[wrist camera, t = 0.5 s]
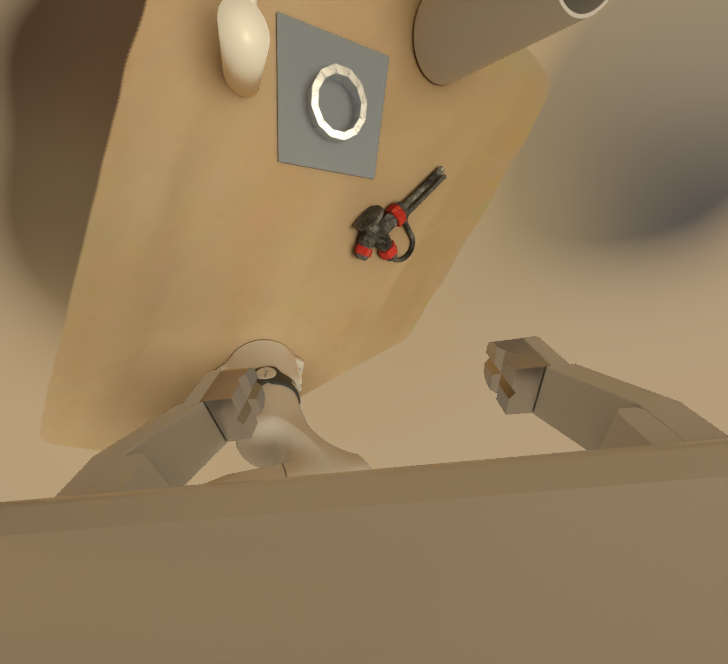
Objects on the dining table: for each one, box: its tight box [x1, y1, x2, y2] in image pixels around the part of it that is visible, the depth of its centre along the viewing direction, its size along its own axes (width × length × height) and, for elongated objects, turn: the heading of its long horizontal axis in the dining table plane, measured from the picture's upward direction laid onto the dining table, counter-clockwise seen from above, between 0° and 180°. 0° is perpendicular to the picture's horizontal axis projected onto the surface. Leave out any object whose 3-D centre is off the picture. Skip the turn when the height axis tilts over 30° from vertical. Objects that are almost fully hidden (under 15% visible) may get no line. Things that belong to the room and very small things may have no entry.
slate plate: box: [276, 12, 389, 179], centre depth 45 cm, size 18×18×1 cm
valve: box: [354, 166, 446, 262], centre depth 58 cm, size 6×26×15 cm
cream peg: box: [217, 0, 270, 98], centre depth 33 cm, size 8×5×14 cm, turn 174°
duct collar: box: [307, 64, 367, 143], centre depth 44 cm, size 9×9×4 cm
